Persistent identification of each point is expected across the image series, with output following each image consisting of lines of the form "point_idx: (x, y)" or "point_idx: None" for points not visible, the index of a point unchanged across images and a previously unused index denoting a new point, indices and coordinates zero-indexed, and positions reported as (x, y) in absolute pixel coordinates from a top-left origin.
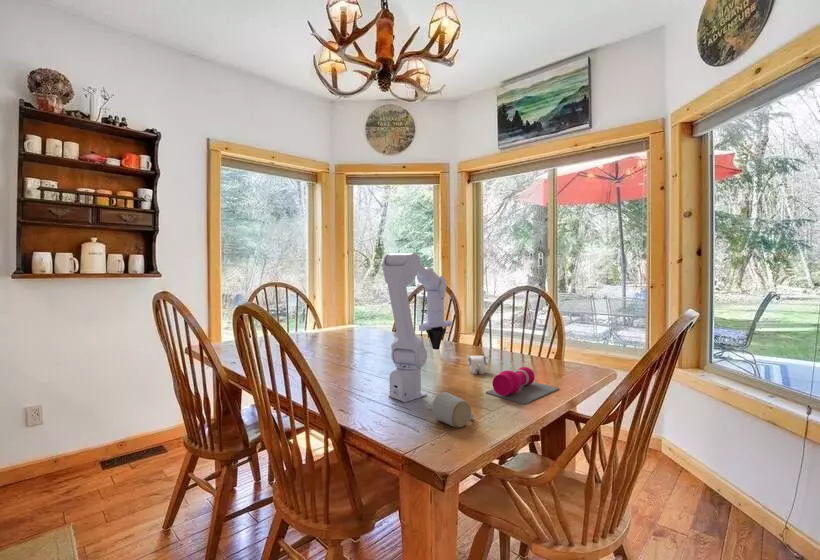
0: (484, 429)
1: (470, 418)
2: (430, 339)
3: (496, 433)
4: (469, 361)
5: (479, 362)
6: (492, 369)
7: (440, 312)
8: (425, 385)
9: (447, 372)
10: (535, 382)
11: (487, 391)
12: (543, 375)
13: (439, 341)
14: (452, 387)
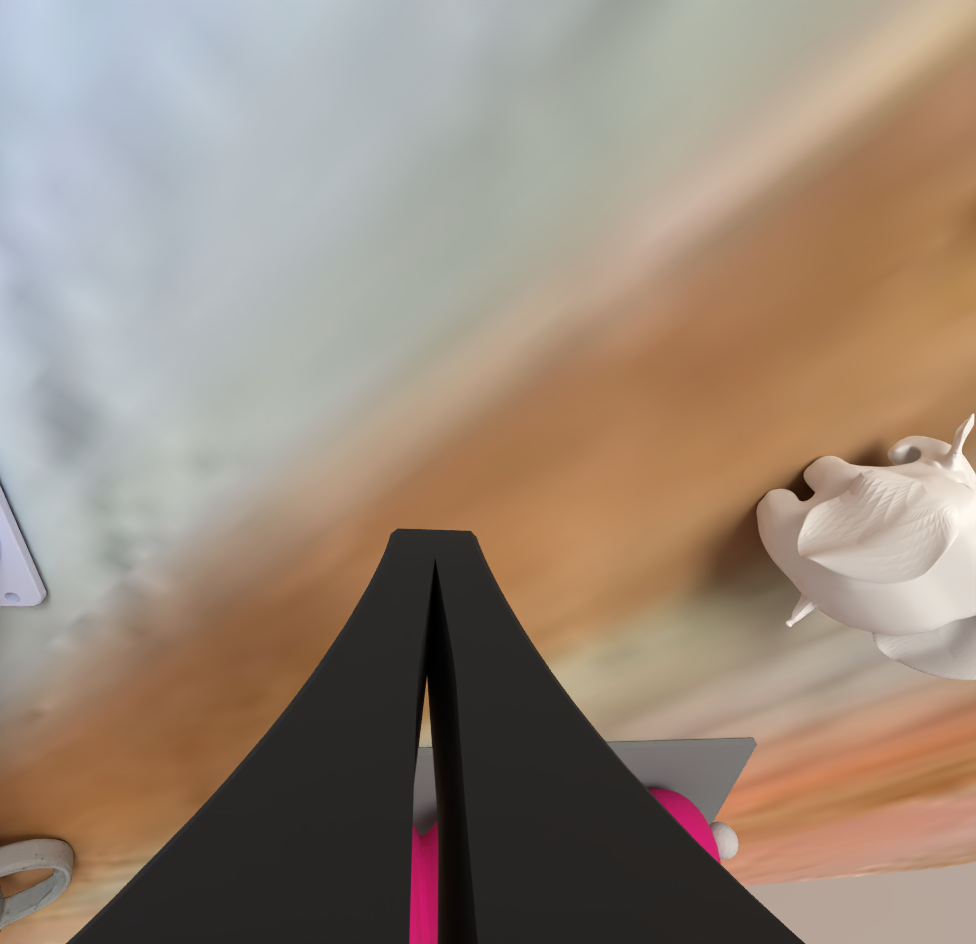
0: (55, 909)
1: (27, 897)
2: (308, 692)
3: (74, 931)
4: (882, 505)
5: (836, 613)
6: None
7: None
8: (194, 431)
9: (697, 308)
10: (724, 798)
11: (424, 755)
12: (897, 756)
13: (439, 793)
14: (345, 595)
